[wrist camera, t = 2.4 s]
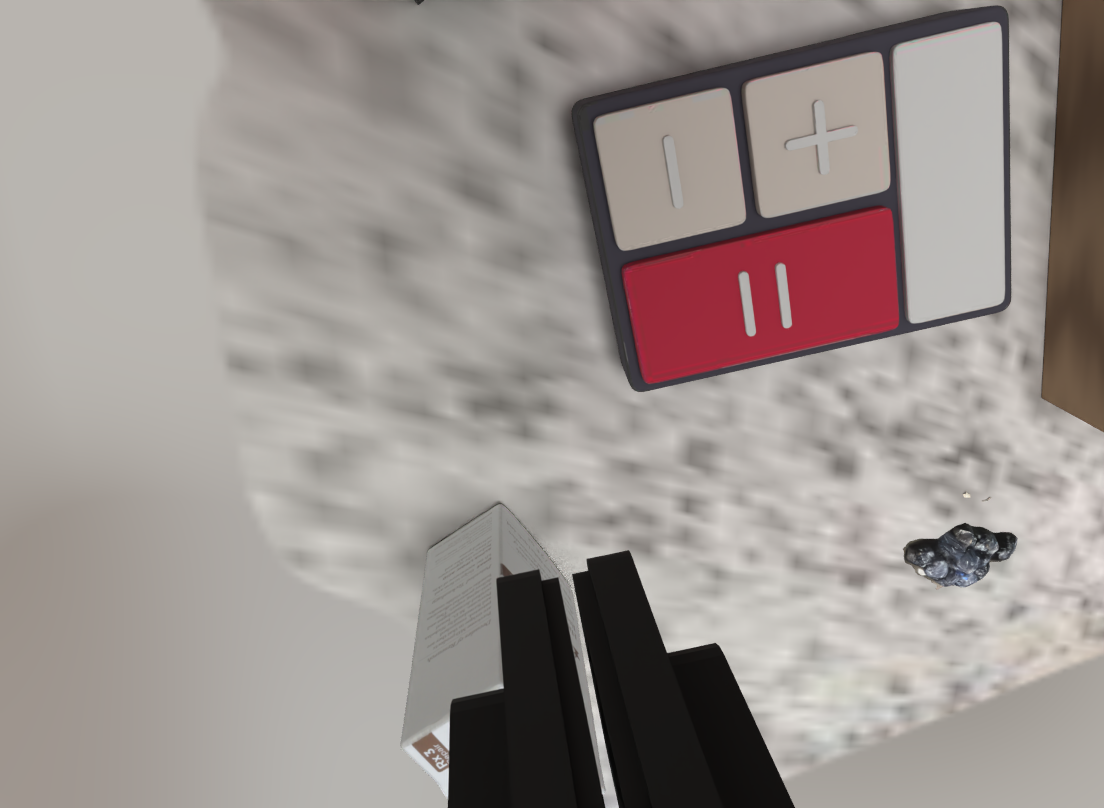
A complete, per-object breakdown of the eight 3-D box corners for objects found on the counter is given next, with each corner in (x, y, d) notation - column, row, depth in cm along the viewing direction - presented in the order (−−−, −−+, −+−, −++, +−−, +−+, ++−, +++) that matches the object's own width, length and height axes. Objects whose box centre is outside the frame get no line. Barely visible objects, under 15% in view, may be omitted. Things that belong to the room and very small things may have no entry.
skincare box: (576, 587, 38) (622, 796, 27) (498, 638, 39) (512, 864, 28) (497, 493, 36) (512, 679, 25) (415, 549, 37) (395, 755, 26)
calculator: (575, 106, 28) (1024, -1, 27) (567, 101, 32) (957, 8, 31) (634, 403, 32) (1024, 316, 31) (620, 365, 36) (966, 288, 35)
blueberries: (873, 490, 39) (889, 511, 38) (1044, 461, 39) (1068, 480, 37) (878, 607, 42) (893, 631, 40) (1039, 580, 41) (1061, 603, 40)
